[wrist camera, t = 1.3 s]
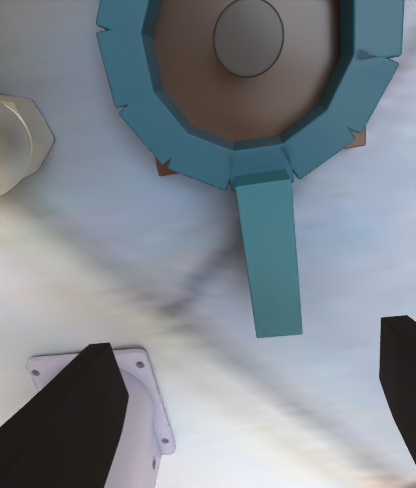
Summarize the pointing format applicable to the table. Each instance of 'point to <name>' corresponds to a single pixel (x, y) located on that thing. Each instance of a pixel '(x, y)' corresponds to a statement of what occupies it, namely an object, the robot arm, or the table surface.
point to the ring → (257, 150)
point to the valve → (21, 140)
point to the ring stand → (246, 63)
